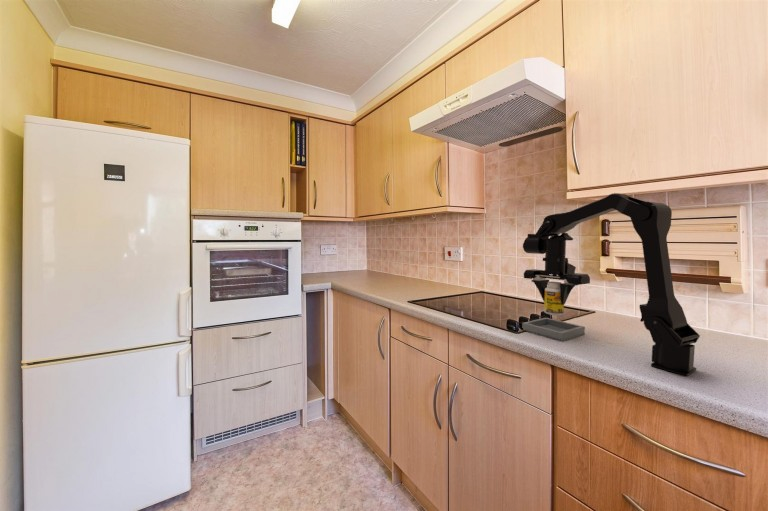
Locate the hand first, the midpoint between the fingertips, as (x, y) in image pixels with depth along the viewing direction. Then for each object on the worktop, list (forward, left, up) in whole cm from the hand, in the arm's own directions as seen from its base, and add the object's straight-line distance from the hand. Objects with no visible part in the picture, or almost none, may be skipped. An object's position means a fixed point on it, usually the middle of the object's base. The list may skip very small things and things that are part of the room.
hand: (553, 303), depth 102 cm
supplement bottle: (0, 0, -4) cm, 4 cm away
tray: (0, 0, -10) cm, 10 cm away
